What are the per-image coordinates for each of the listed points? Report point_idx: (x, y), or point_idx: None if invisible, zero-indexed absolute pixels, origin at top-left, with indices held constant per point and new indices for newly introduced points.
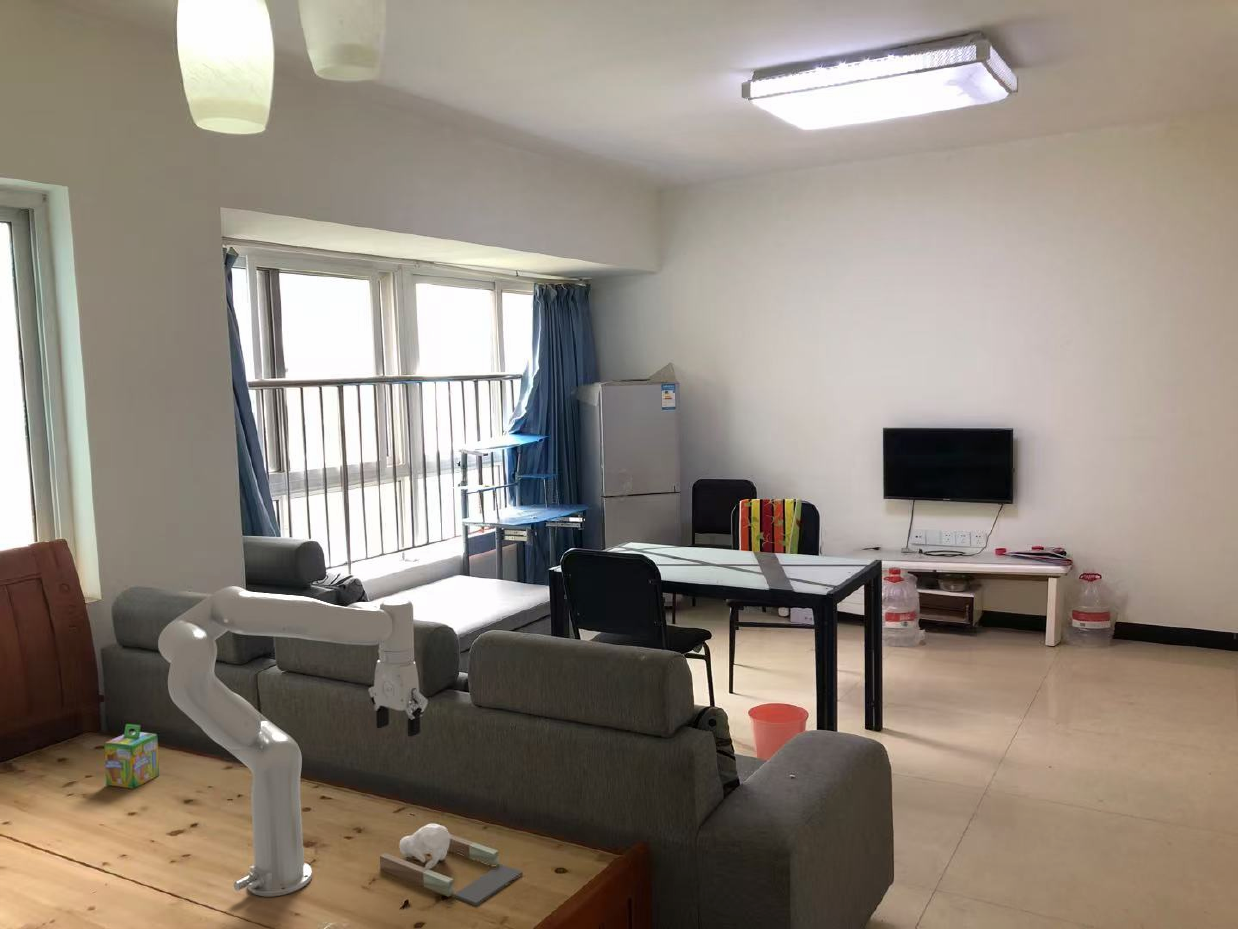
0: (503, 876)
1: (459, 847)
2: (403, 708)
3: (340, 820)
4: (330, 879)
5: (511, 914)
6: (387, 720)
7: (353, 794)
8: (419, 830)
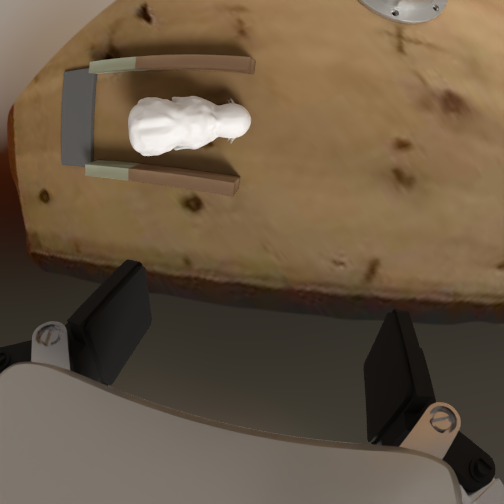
0: (70, 141)
1: (154, 168)
2: (15, 366)
3: (453, 201)
4: (318, 3)
5: (34, 87)
6: (368, 378)
7: (472, 290)
8: (175, 114)
